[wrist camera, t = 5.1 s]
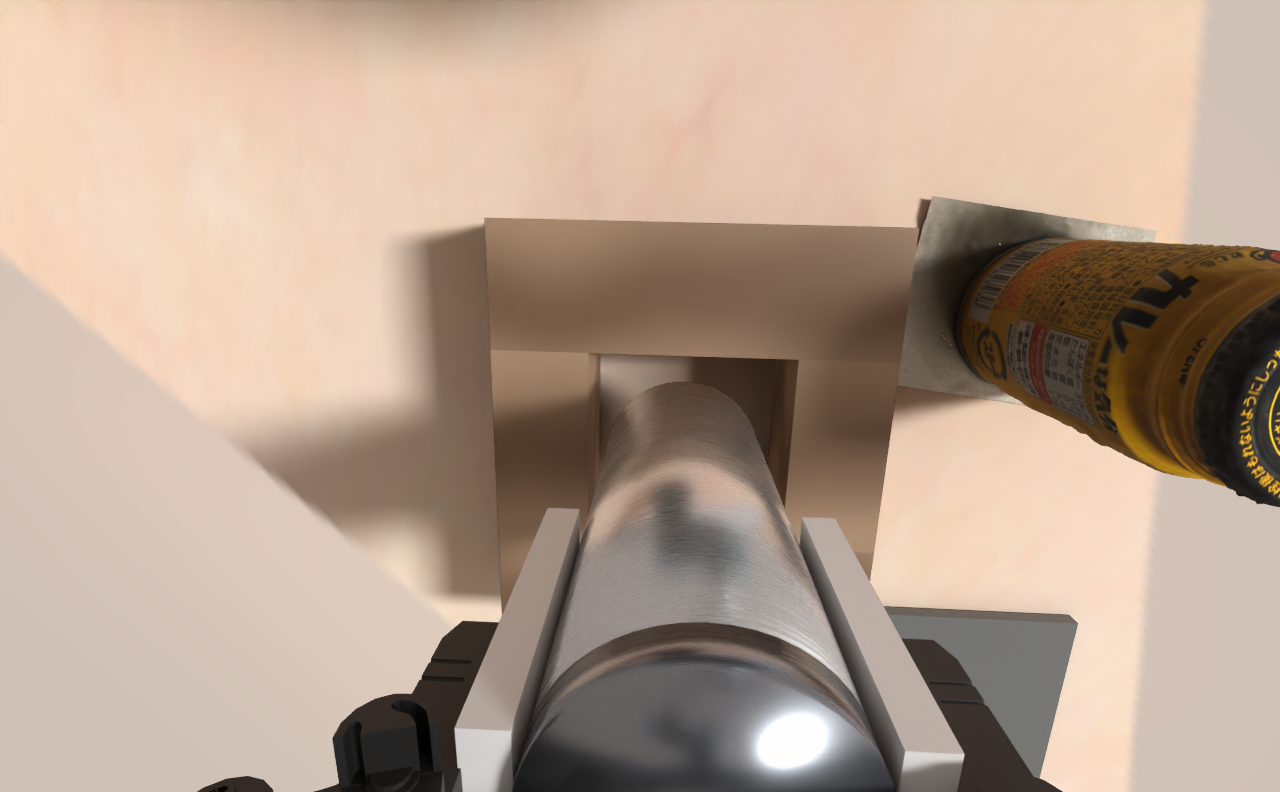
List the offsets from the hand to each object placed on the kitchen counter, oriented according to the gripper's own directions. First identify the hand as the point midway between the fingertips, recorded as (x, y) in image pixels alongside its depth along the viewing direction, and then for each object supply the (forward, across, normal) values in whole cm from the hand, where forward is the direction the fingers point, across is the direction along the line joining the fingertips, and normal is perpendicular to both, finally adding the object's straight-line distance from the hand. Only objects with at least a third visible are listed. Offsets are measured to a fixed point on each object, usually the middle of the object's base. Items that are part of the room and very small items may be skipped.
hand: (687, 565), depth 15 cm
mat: (+12, +13, -14) cm, 22 cm away
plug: (+7, 0, 0) cm, 7 cm away
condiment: (+12, +13, +5) cm, 18 cm away
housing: (+12, 0, 0) cm, 12 cm away
